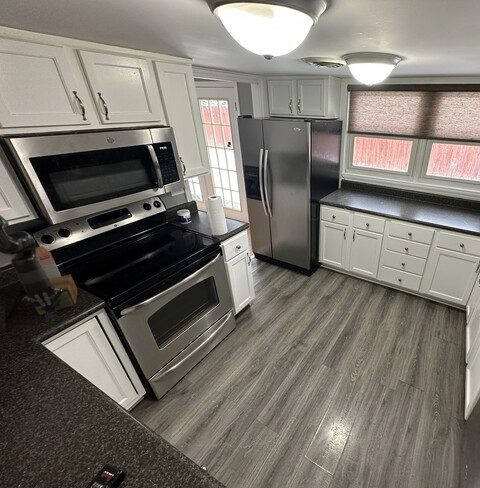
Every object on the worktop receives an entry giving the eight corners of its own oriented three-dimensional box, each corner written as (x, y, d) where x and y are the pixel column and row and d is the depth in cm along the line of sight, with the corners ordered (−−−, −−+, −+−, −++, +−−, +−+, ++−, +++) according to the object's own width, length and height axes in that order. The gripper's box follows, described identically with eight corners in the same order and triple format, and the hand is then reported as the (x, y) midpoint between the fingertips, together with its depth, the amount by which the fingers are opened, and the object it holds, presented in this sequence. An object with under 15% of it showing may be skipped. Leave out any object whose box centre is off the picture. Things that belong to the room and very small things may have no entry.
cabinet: (75, 304, 128) (67, 287, 124) (39, 314, 121) (29, 297, 117) (77, 289, 138) (70, 274, 134) (44, 298, 131) (35, 282, 127)
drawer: (71, 311, 122) (65, 297, 118) (37, 321, 116) (29, 307, 112) (74, 292, 135) (69, 279, 132) (44, 299, 129) (37, 286, 125)
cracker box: (67, 287, 139) (51, 252, 130) (52, 293, 135) (34, 257, 126) (59, 279, 146) (43, 245, 137) (44, 283, 142) (26, 249, 133)
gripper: (56, 269, 115) (72, 301, 123) (13, 279, 108) (32, 312, 115) (54, 277, 110) (70, 310, 117) (8, 287, 103) (28, 322, 110)
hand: (51, 311), depth 116 cm, fingers closed
